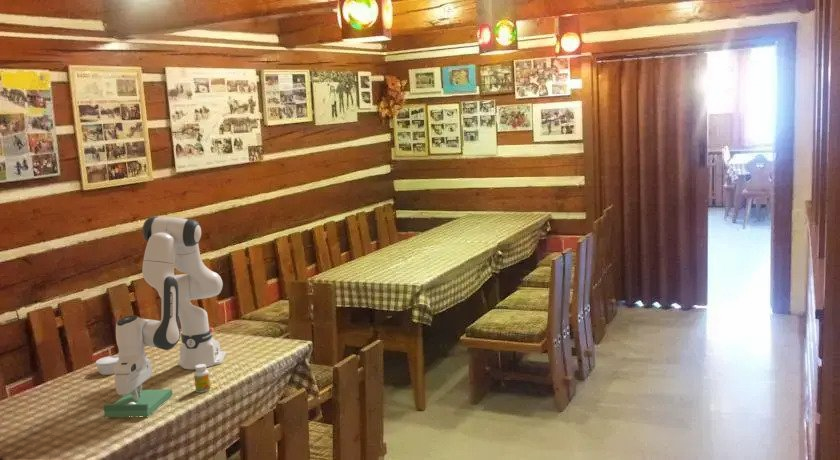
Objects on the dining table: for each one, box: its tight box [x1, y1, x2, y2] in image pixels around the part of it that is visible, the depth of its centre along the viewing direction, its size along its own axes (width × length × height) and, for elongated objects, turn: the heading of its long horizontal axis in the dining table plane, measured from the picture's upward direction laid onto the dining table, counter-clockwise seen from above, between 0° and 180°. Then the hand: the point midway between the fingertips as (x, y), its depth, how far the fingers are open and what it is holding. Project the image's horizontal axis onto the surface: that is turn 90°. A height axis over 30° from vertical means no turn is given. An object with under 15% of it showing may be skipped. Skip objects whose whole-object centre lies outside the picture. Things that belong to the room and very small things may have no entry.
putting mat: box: [103, 388, 174, 419], centre depth 277 cm, size 20×16×4 cm
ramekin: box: [95, 355, 119, 376], centre depth 319 cm, size 11×11×5 cm
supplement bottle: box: [193, 364, 211, 393], centre depth 289 cm, size 5×5×10 cm
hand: (137, 397), depth 276 cm, fingers closed
